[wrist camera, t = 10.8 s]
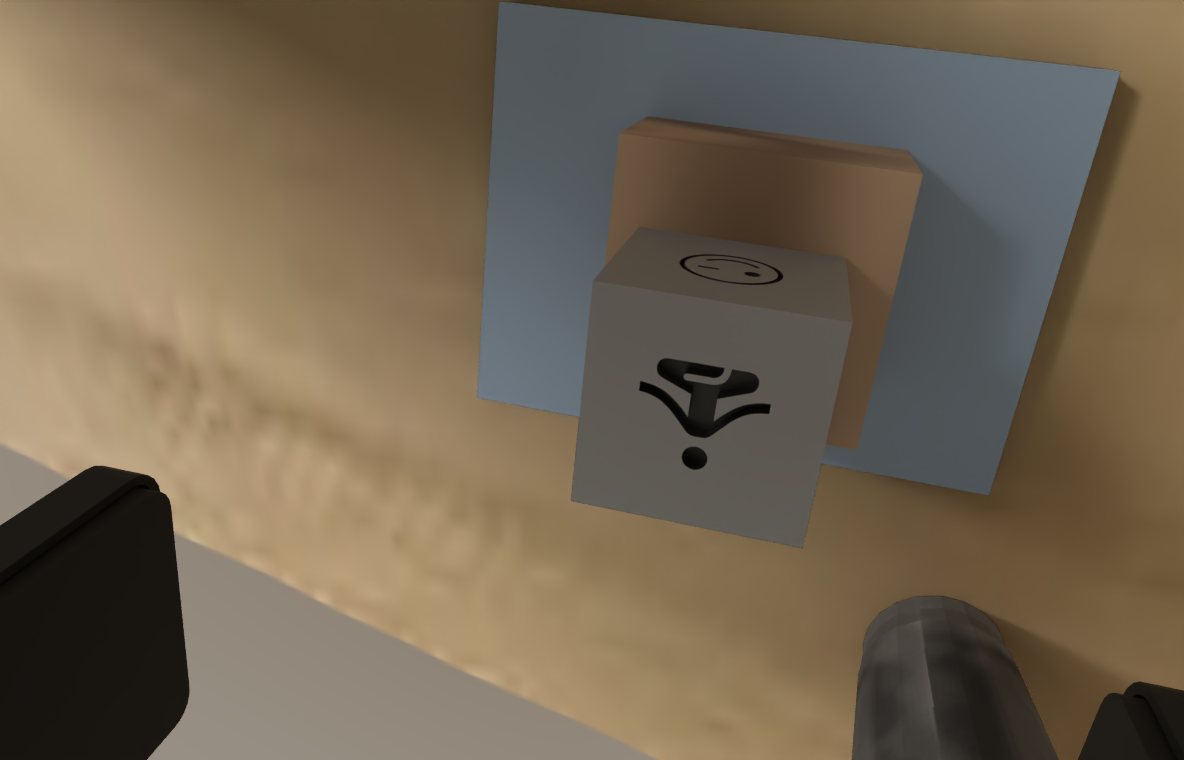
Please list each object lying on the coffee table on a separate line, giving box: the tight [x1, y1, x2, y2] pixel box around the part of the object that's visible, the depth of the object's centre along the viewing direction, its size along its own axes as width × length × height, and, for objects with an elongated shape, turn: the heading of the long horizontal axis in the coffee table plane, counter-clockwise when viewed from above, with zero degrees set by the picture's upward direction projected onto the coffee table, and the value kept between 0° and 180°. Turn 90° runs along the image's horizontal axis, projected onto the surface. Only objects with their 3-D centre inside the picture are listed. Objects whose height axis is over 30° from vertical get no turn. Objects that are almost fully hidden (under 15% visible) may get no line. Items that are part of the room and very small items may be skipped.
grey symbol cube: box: [571, 227, 853, 549], centre depth 21 cm, size 5×5×5 cm
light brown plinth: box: [605, 116, 923, 450], centre depth 24 cm, size 7×7×4 cm
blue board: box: [477, 2, 1120, 496], centre depth 27 cm, size 16×12×1 cm
